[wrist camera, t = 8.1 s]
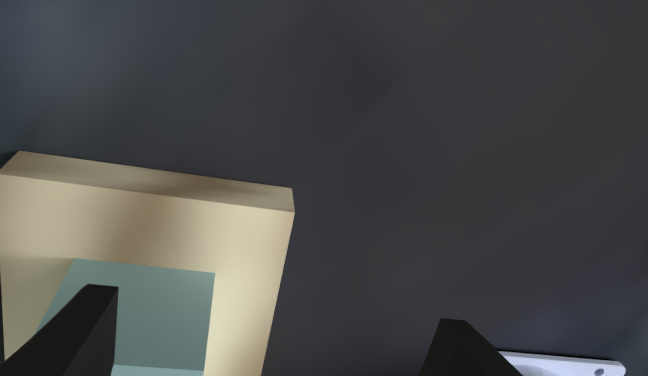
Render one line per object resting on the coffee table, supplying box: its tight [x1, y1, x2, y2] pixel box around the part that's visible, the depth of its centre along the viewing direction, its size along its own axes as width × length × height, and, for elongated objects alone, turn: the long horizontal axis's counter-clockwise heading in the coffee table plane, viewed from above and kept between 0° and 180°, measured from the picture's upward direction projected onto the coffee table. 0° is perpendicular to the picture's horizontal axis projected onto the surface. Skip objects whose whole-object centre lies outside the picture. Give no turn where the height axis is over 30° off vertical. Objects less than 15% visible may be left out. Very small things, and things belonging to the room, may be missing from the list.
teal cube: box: [34, 258, 215, 376], centre depth 19 cm, size 5×5×5 cm
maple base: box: [0, 151, 295, 376], centre depth 22 cm, size 10×10×2 cm
